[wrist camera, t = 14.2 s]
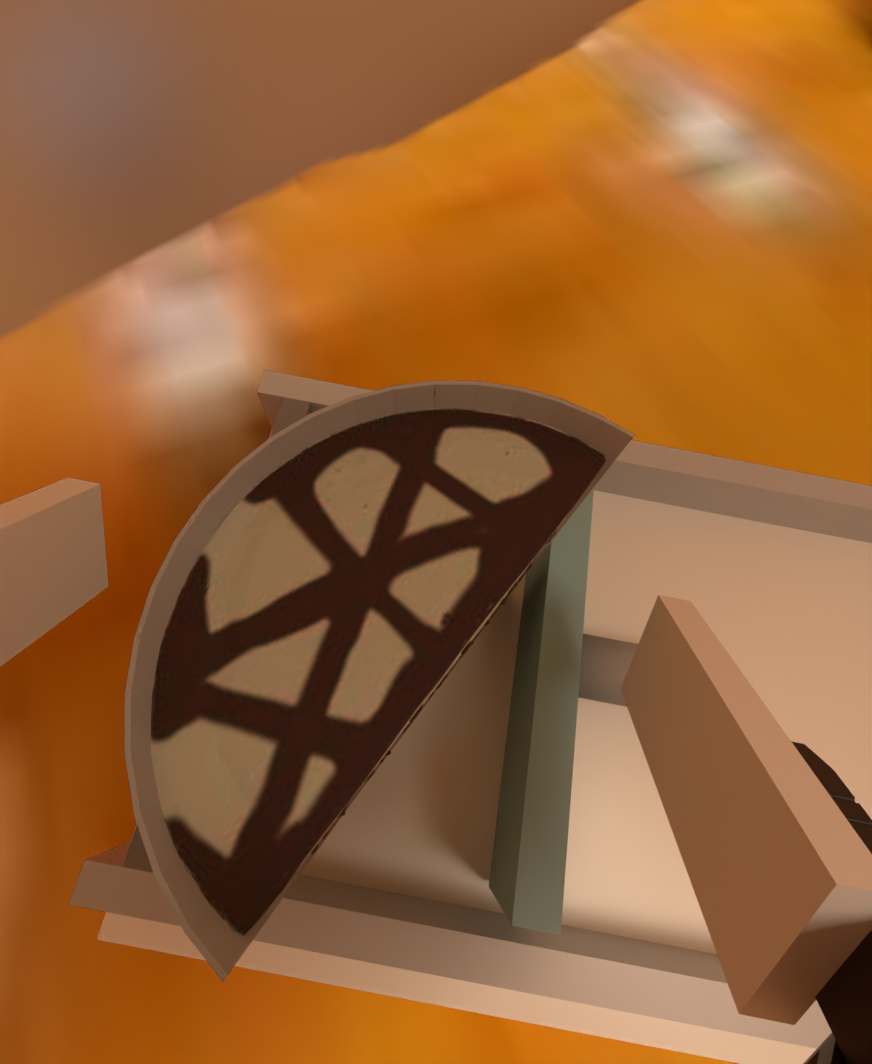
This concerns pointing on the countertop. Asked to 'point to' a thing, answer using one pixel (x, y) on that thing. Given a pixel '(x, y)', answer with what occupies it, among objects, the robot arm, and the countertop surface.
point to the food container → (329, 623)
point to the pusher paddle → (549, 727)
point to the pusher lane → (575, 775)
